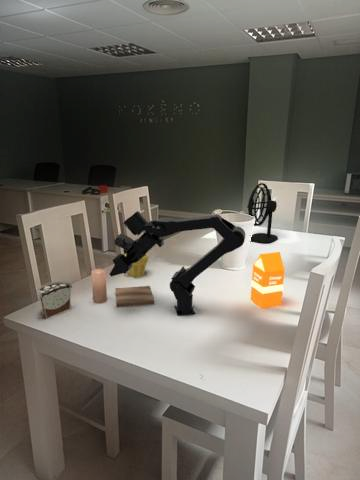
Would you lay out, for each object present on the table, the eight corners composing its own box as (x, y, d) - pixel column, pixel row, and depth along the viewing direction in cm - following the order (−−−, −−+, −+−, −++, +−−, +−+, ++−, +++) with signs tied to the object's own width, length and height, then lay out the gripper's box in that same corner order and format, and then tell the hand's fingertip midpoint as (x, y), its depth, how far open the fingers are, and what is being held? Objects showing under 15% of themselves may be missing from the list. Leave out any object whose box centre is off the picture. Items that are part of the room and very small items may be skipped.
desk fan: (257, 232, 235) (261, 180, 225) (282, 236, 225) (288, 182, 215) (239, 241, 214) (242, 184, 204) (265, 246, 204) (270, 186, 194)
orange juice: (250, 300, 134) (253, 251, 129) (269, 296, 137) (273, 248, 132) (261, 309, 127) (265, 257, 122) (281, 305, 130) (286, 255, 125)
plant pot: (142, 280, 152) (141, 259, 149) (121, 277, 155) (120, 256, 152) (151, 272, 161) (151, 252, 158) (131, 269, 164) (131, 249, 162)
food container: (64, 302, 130) (62, 278, 127) (73, 307, 126) (71, 282, 123) (33, 314, 121) (30, 288, 118) (42, 320, 117) (39, 293, 114)
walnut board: (154, 304, 130) (154, 300, 129) (116, 307, 127) (116, 303, 126) (149, 289, 143) (149, 285, 142) (115, 291, 140) (115, 288, 140)
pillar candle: (107, 302, 130) (105, 273, 127) (92, 303, 129) (91, 273, 126) (107, 296, 135) (105, 268, 132) (93, 297, 134) (91, 268, 131)
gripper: (137, 222, 130) (111, 247, 136) (117, 234, 113) (88, 263, 118) (157, 243, 131) (130, 268, 136) (140, 259, 113) (110, 286, 119)
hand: (115, 270), depth 127 cm, fingers open, 9 cm apart
